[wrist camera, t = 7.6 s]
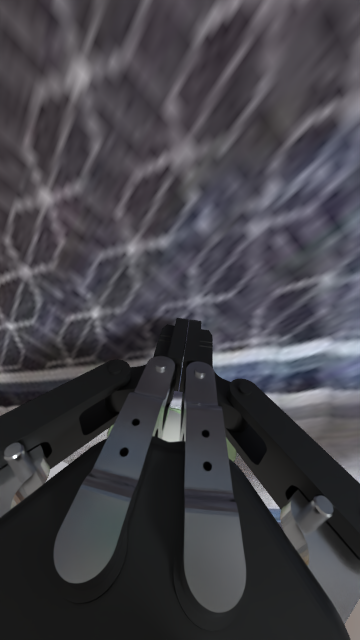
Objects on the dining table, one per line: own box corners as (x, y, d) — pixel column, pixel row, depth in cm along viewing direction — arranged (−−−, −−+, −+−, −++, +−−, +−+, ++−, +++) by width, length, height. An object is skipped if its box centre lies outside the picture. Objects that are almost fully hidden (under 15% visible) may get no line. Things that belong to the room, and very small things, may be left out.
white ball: (202, 426, 23) (203, 414, 18) (187, 492, 20) (184, 497, 15) (151, 409, 24) (140, 394, 19) (130, 469, 21) (111, 468, 16)
